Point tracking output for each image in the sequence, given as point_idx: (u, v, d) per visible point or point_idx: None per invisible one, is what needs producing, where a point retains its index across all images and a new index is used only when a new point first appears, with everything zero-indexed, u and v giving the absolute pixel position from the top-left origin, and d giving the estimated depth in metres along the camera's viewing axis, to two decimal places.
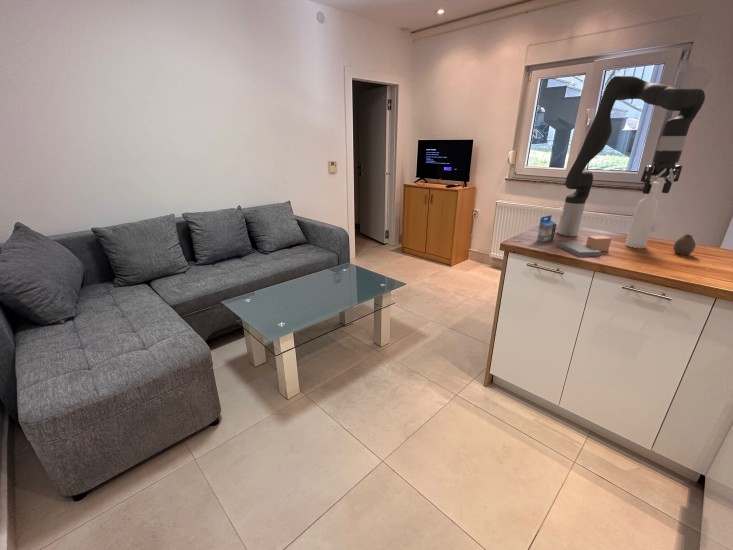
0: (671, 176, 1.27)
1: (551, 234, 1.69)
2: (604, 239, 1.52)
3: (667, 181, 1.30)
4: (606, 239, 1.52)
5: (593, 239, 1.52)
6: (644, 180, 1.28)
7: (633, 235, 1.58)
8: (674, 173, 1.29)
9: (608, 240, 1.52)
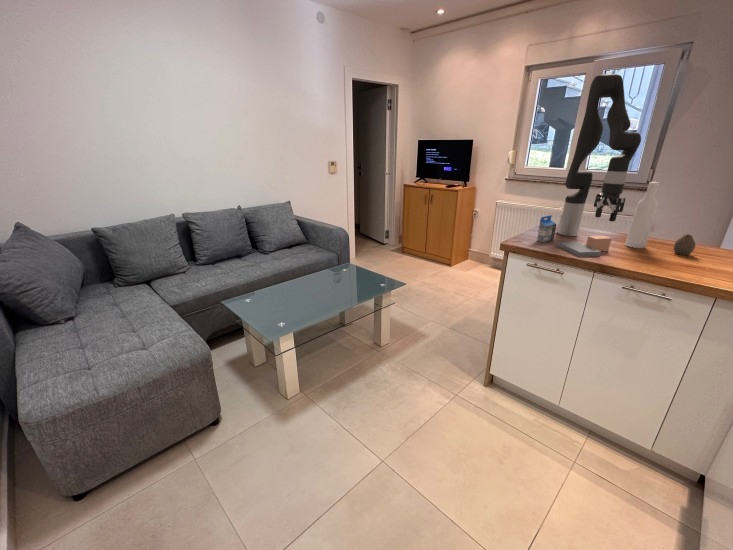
0: None
1: (551, 234, 1.69)
2: (604, 239, 1.52)
3: (599, 207, 1.52)
4: (606, 239, 1.52)
5: (593, 239, 1.52)
6: (620, 210, 1.42)
7: (633, 235, 1.58)
8: (599, 200, 1.53)
9: (608, 240, 1.52)
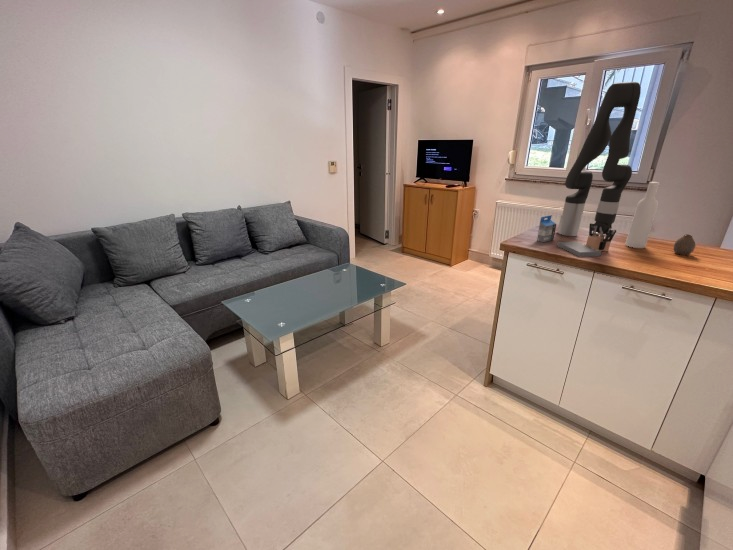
0: None
1: (551, 234, 1.69)
2: None
3: None
4: None
5: (593, 239, 1.52)
6: (609, 240, 1.49)
7: (633, 235, 1.58)
8: (593, 229, 1.57)
9: None
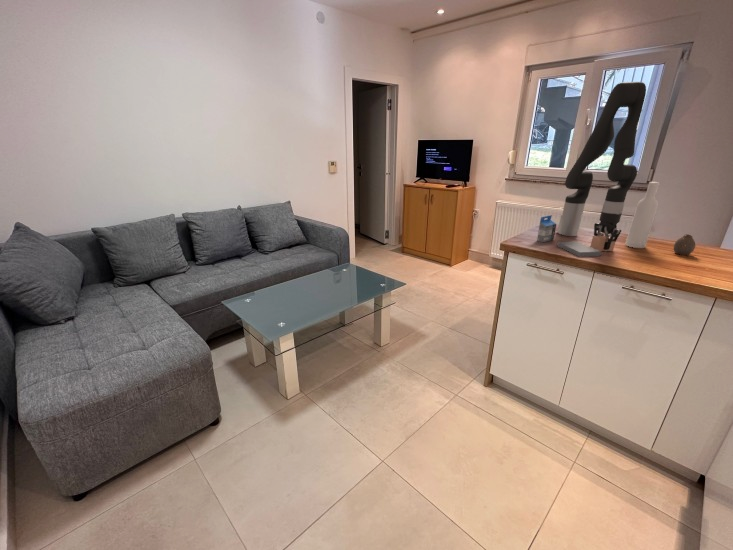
0: None
1: (551, 234, 1.69)
2: None
3: None
4: None
5: (598, 239, 1.52)
6: (614, 240, 1.49)
7: (633, 235, 1.58)
8: (598, 229, 1.57)
9: None
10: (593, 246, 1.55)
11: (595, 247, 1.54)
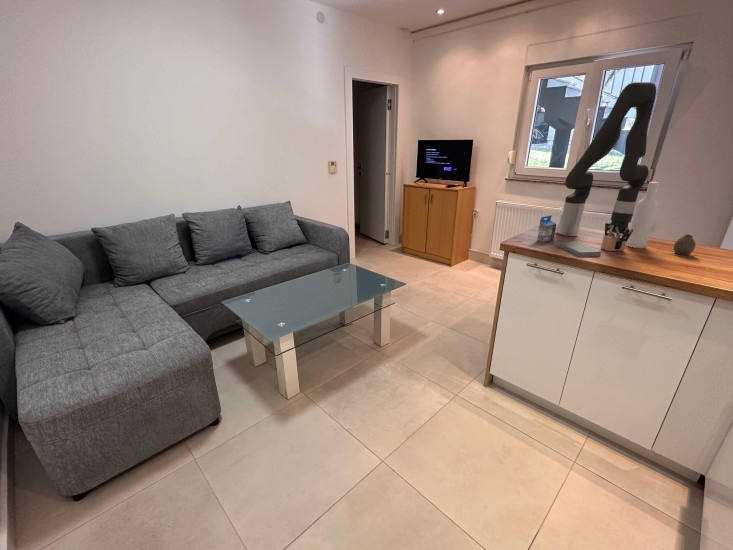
0: None
1: (551, 234, 1.69)
2: None
3: None
4: None
5: (609, 239, 1.53)
6: (625, 240, 1.49)
7: (633, 235, 1.58)
8: (609, 229, 1.58)
9: None
10: (604, 246, 1.56)
11: (606, 247, 1.54)
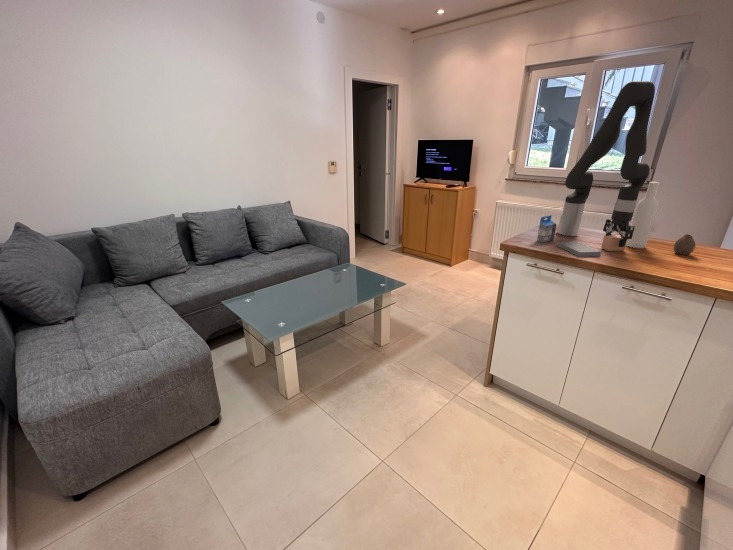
0: None
1: (551, 234, 1.69)
2: None
3: (609, 232, 1.58)
4: None
5: (609, 239, 1.53)
6: (629, 237, 1.47)
7: (633, 235, 1.58)
8: (608, 225, 1.58)
9: None
10: (604, 246, 1.56)
11: (606, 247, 1.55)
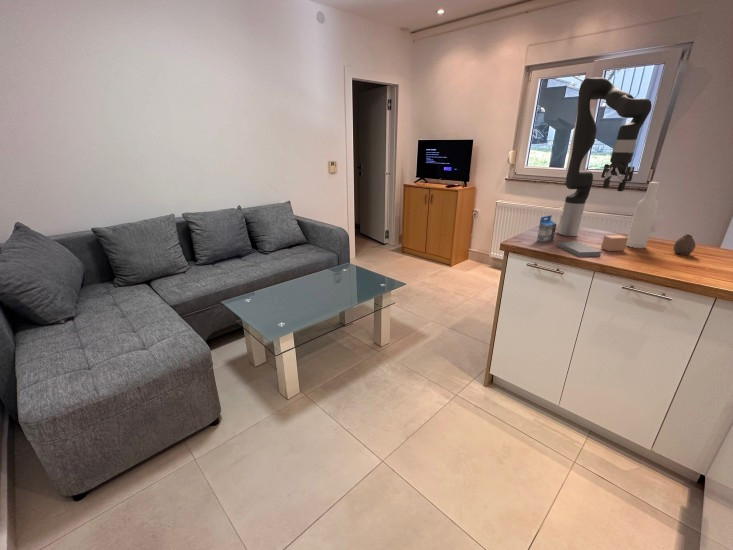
0: None
1: (551, 234, 1.69)
2: (620, 239, 1.52)
3: (607, 178, 1.51)
4: (622, 239, 1.52)
5: (609, 239, 1.53)
6: (629, 179, 1.41)
7: (633, 235, 1.58)
8: (607, 171, 1.52)
9: (624, 239, 1.52)
10: (604, 246, 1.56)
11: (606, 247, 1.55)
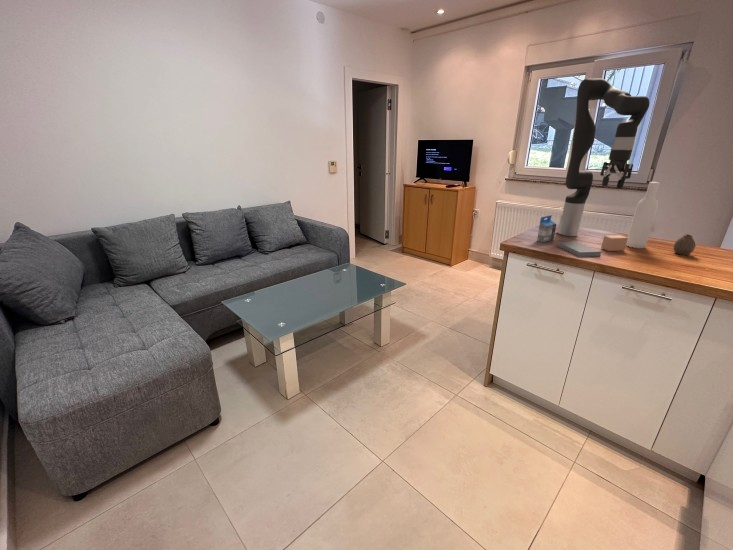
0: None
1: (551, 234, 1.69)
2: (620, 239, 1.52)
3: (606, 176, 1.51)
4: (622, 239, 1.52)
5: (609, 239, 1.53)
6: (628, 177, 1.41)
7: (633, 235, 1.58)
8: (606, 169, 1.52)
9: (624, 239, 1.52)
10: (604, 246, 1.56)
11: (606, 247, 1.55)
